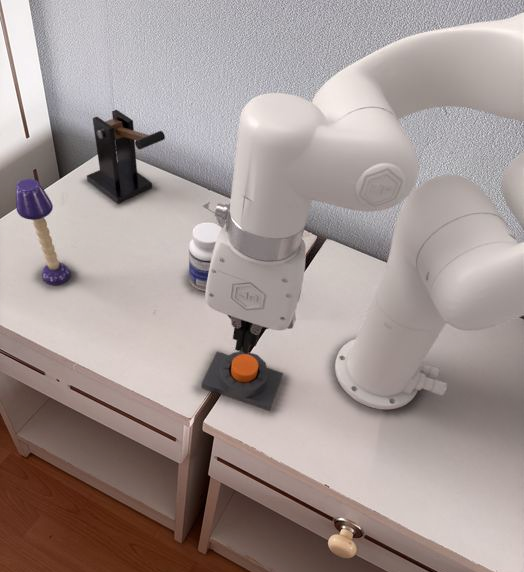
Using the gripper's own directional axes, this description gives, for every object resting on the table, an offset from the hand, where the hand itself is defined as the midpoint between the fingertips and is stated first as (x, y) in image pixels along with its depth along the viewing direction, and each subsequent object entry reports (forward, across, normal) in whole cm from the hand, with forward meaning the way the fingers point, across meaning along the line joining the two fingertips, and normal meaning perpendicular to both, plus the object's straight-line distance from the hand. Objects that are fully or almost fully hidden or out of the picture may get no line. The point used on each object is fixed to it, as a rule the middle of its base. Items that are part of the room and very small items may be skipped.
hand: (244, 343), depth 65 cm
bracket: (+9, -35, +34) cm, 50 cm away
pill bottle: (+9, -11, +17) cm, 23 cm away
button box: (+9, +1, 0) cm, 9 cm away
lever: (-2, -31, +32) cm, 45 cm away
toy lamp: (+10, -33, +8) cm, 36 cm away
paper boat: (+9, -13, +30) cm, 34 cm away
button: (+6, +1, 0) cm, 6 cm away
